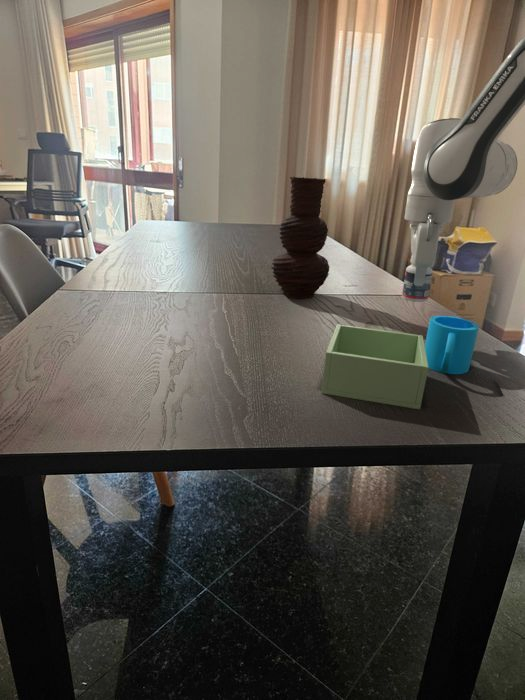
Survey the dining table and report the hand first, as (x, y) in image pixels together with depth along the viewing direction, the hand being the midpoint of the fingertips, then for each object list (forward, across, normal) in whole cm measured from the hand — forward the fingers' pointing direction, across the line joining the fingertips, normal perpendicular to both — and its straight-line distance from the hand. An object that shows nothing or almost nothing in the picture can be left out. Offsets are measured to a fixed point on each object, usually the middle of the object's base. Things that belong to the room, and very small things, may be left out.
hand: (417, 281), depth 96 cm
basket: (+12, -28, +6) cm, 31 cm away
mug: (+12, -17, -6) cm, 21 cm away
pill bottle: (+4, 0, 0) cm, 4 cm away
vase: (+11, +23, +29) cm, 38 cm away
